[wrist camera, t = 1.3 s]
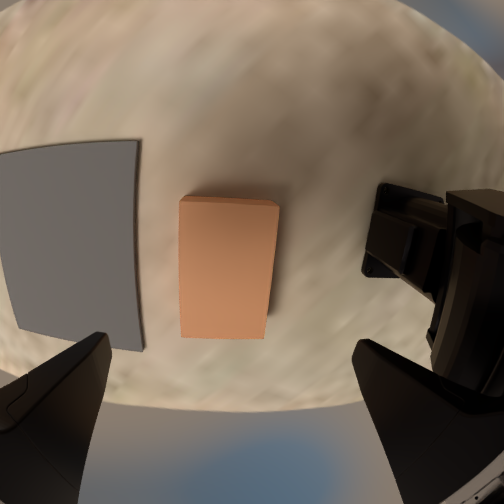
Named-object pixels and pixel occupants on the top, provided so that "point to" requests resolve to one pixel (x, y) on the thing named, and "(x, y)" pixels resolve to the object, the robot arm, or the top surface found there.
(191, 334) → the tile
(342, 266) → the top surface
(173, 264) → the top surface
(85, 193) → the mat
